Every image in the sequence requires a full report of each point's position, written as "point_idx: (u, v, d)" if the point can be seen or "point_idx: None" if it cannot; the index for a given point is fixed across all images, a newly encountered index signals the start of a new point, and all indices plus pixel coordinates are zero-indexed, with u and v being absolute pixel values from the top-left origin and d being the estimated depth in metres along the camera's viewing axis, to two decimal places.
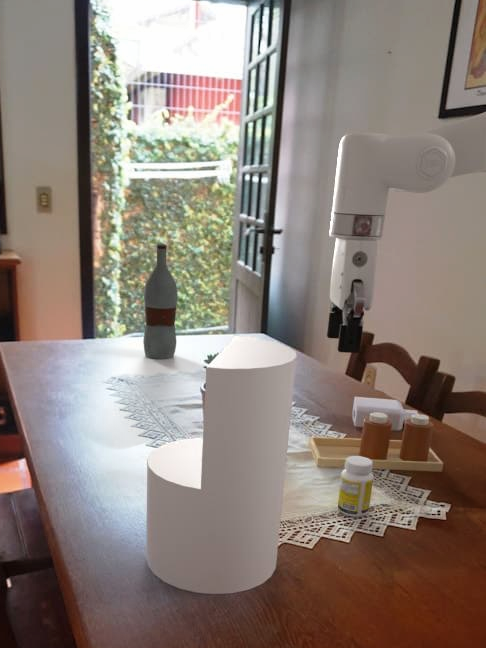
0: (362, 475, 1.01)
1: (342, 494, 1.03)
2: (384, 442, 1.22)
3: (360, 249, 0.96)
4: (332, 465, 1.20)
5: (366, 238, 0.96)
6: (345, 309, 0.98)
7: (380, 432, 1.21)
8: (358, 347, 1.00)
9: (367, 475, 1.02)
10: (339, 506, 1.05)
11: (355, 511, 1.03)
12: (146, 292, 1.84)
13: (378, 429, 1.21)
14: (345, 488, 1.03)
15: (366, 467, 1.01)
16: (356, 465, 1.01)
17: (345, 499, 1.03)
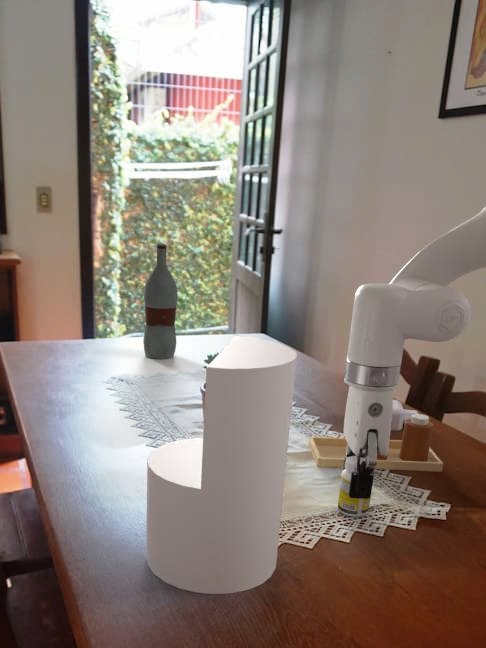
0: None
1: (342, 494, 1.03)
2: None
3: (376, 400, 0.94)
4: (332, 465, 1.20)
5: (382, 389, 0.94)
6: (357, 460, 0.98)
7: None
8: (369, 493, 1.01)
9: None
10: (339, 506, 1.05)
11: (355, 511, 1.03)
12: (146, 292, 1.84)
13: None
14: (345, 488, 1.03)
15: None
16: None
17: (345, 499, 1.03)
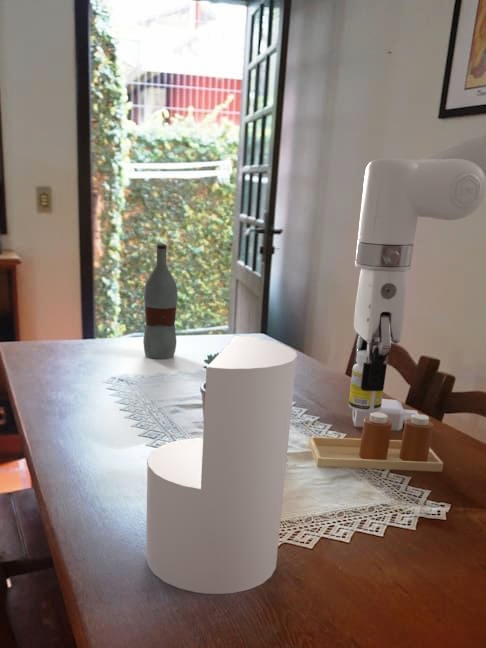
0: None
1: (353, 388, 1.00)
2: (384, 442, 1.22)
3: (389, 280, 0.91)
4: (332, 465, 1.20)
5: (395, 269, 0.91)
6: (370, 348, 0.95)
7: (380, 432, 1.21)
8: (382, 385, 0.98)
9: None
10: (350, 402, 1.02)
11: (367, 406, 1.00)
12: (146, 292, 1.84)
13: (378, 429, 1.21)
14: (356, 381, 0.99)
15: None
16: None
17: (356, 393, 1.00)
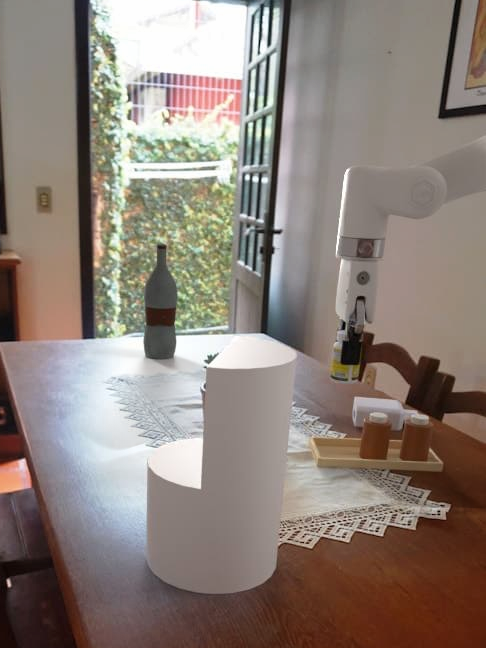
0: None
1: (334, 363, 1.16)
2: (384, 442, 1.22)
3: (363, 269, 1.07)
4: (332, 465, 1.20)
5: (369, 259, 1.07)
6: (348, 327, 1.11)
7: (380, 432, 1.21)
8: (358, 360, 1.14)
9: None
10: (331, 375, 1.17)
11: (346, 378, 1.16)
12: (146, 292, 1.84)
13: (378, 429, 1.21)
14: (336, 357, 1.15)
15: None
16: None
17: (336, 367, 1.16)
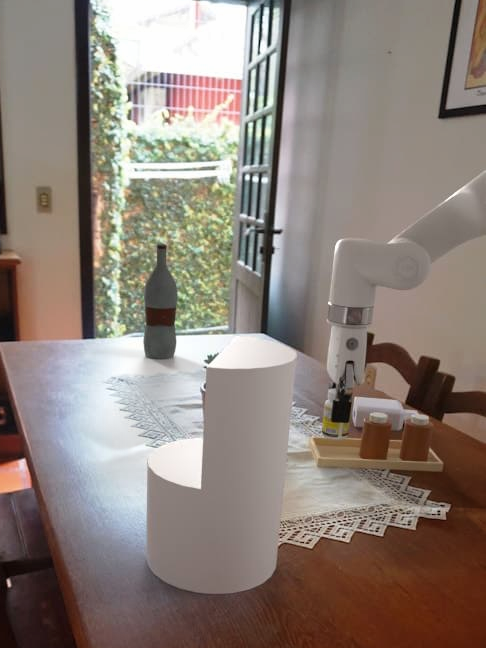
0: None
1: (325, 420, 1.22)
2: (384, 442, 1.22)
3: (352, 335, 1.13)
4: (332, 465, 1.20)
5: (358, 326, 1.13)
6: (338, 388, 1.17)
7: (380, 432, 1.21)
8: (348, 418, 1.20)
9: None
10: (323, 431, 1.23)
11: (336, 434, 1.22)
12: (146, 292, 1.84)
13: (378, 429, 1.21)
14: (327, 414, 1.21)
15: None
16: None
17: (327, 424, 1.22)
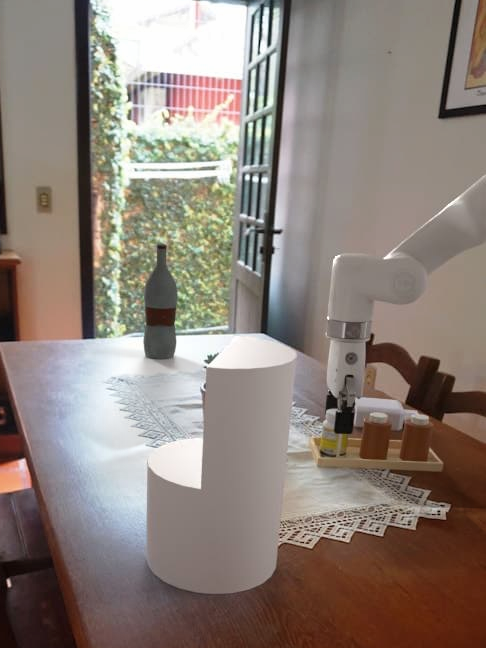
0: None
1: (323, 440, 1.24)
2: (384, 442, 1.22)
3: (351, 350, 1.13)
4: (332, 465, 1.20)
5: (356, 341, 1.14)
6: (339, 399, 1.16)
7: (380, 432, 1.21)
8: (351, 429, 1.18)
9: None
10: (321, 451, 1.25)
11: (334, 454, 1.23)
12: (146, 292, 1.84)
13: (378, 429, 1.21)
14: (325, 434, 1.23)
15: None
16: (334, 415, 1.21)
17: (325, 444, 1.23)
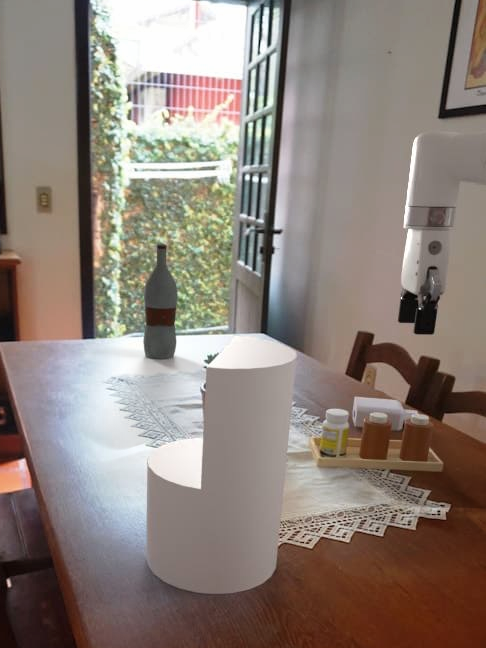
0: (340, 424, 1.22)
1: (323, 440, 1.24)
2: (384, 442, 1.22)
3: (435, 238, 1.04)
4: (332, 465, 1.20)
5: (440, 228, 1.04)
6: (421, 294, 1.07)
7: (380, 432, 1.21)
8: (433, 329, 1.09)
9: (344, 424, 1.22)
10: (321, 451, 1.25)
11: (334, 454, 1.23)
12: (146, 292, 1.84)
13: (378, 429, 1.21)
14: (325, 434, 1.23)
15: (343, 416, 1.21)
16: (334, 415, 1.21)
17: (325, 444, 1.23)
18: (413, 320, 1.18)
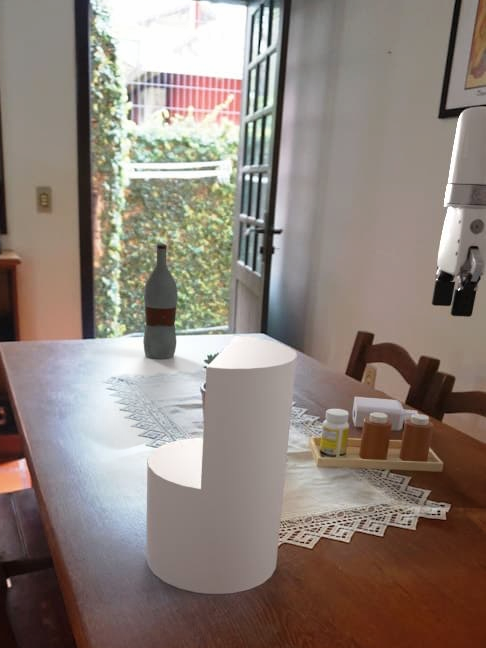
0: (340, 424, 1.22)
1: (323, 440, 1.24)
2: (384, 442, 1.22)
3: (478, 217, 1.02)
4: (332, 465, 1.20)
5: (483, 207, 1.02)
6: (460, 274, 1.04)
7: (380, 432, 1.21)
8: (471, 311, 1.06)
9: (344, 424, 1.22)
10: (321, 451, 1.25)
11: (334, 454, 1.23)
12: (146, 292, 1.84)
13: (378, 429, 1.21)
14: (325, 434, 1.23)
15: (343, 416, 1.21)
16: (334, 415, 1.21)
17: (325, 444, 1.23)
18: (447, 303, 1.15)
